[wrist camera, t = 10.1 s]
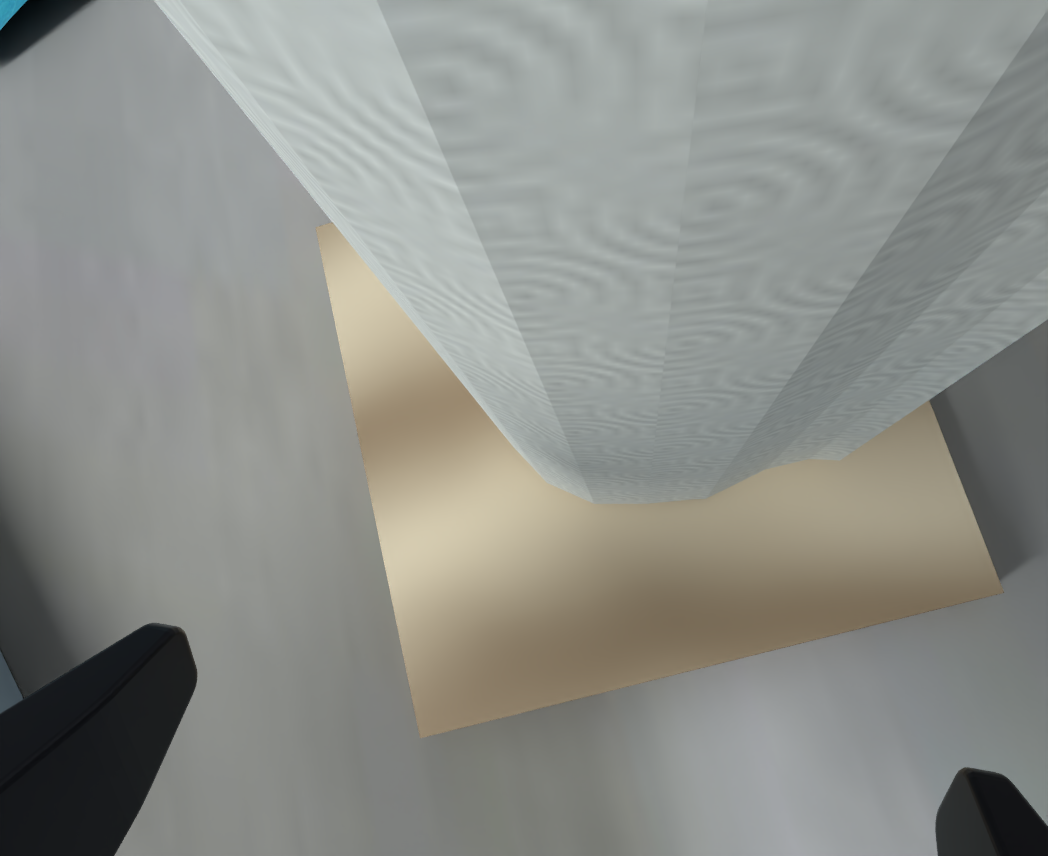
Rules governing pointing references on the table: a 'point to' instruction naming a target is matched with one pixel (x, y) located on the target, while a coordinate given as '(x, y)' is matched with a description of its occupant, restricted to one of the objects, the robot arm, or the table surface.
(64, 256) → the table surface
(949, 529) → the wooden pad
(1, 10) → the blue flat elongated piece
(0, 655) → the blue square frame
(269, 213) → the table surface
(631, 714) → the table surface
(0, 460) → the table surface
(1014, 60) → the paper towel roll
